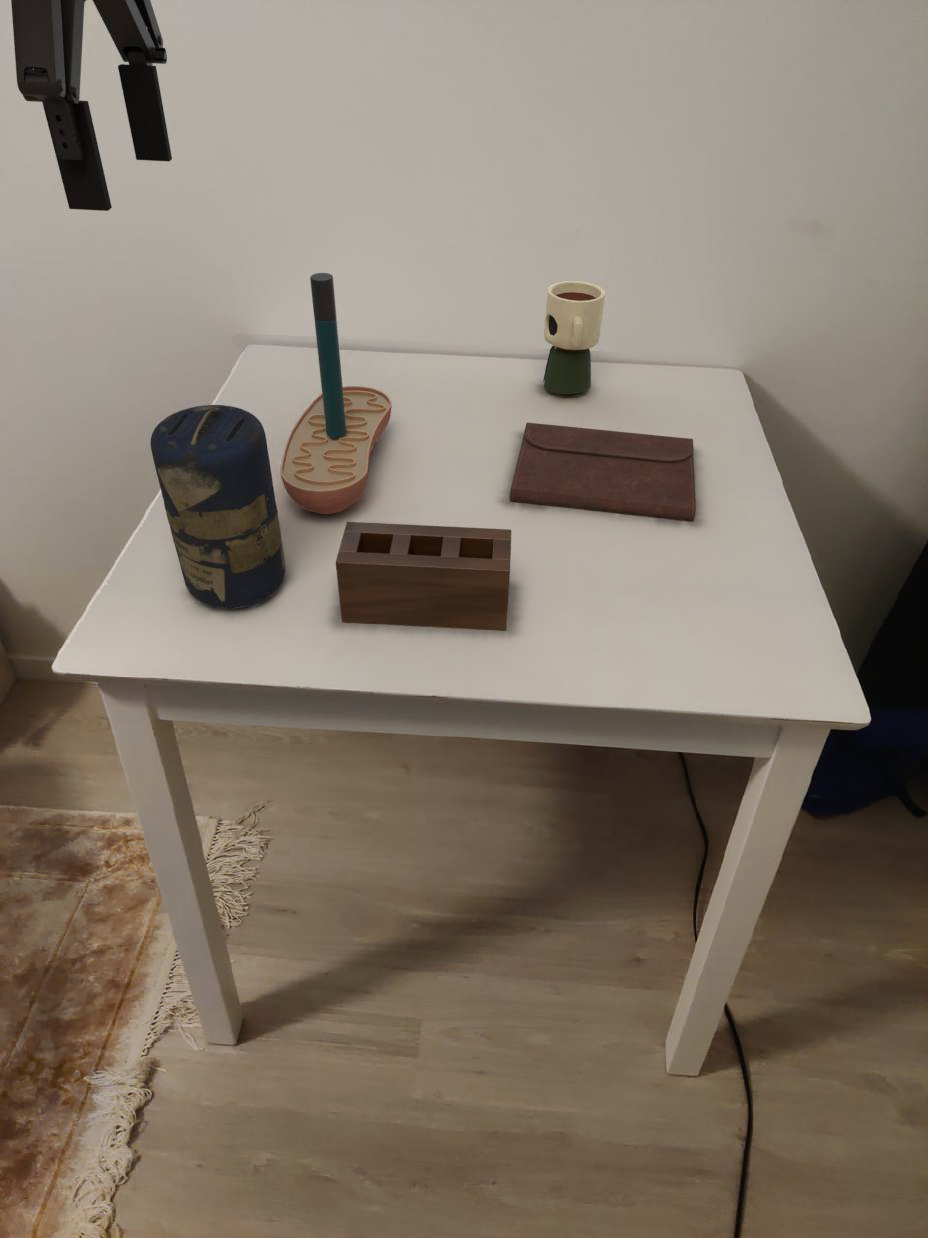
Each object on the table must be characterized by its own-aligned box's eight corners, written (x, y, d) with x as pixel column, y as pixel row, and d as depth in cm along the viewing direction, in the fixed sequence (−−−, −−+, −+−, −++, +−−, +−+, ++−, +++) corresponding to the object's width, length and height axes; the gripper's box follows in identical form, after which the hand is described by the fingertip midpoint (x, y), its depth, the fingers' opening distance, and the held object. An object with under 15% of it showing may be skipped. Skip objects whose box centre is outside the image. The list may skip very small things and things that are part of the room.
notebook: (693, 523, 91) (696, 507, 90) (509, 502, 93) (510, 487, 92) (689, 451, 102) (693, 436, 101) (525, 434, 104) (526, 420, 103)
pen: (332, 439, 93) (316, 282, 82) (322, 431, 94) (306, 275, 83) (350, 434, 94) (336, 277, 82) (340, 425, 95) (326, 270, 84)
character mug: (537, 369, 118) (544, 274, 109) (588, 370, 118) (600, 275, 109) (542, 408, 109) (550, 307, 101) (597, 408, 109) (610, 308, 101)
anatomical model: (362, 534, 88) (358, 493, 85) (268, 527, 89) (261, 486, 86) (399, 425, 105) (397, 388, 102) (320, 420, 106) (316, 382, 103)
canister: (166, 600, 80) (117, 429, 68) (223, 545, 87) (188, 379, 75) (253, 627, 78) (218, 454, 66) (306, 567, 84) (283, 400, 72)
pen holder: (506, 630, 78) (510, 570, 73) (341, 622, 78) (335, 562, 74) (507, 588, 82) (511, 529, 78) (352, 580, 83) (346, 521, 78)
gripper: (10, -224, 41) (114, 236, 55) (171, -193, 60) (218, 145, 74) (-143, -230, 41) (-1, 230, 55) (65, -197, 60) (132, 140, 74)
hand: (125, 182), depth 65 cm, fingers open, 13 cm apart
